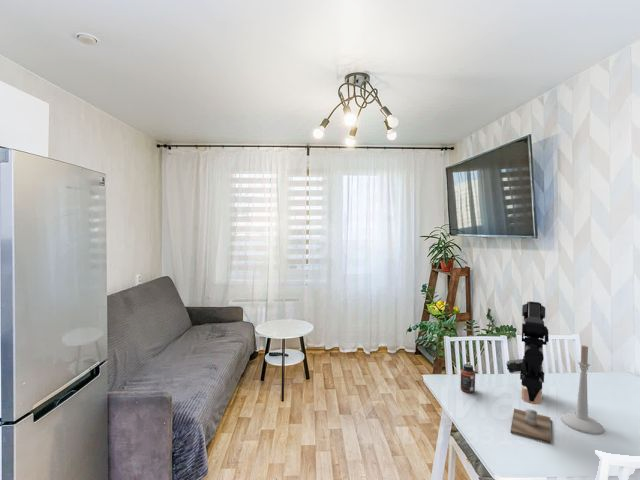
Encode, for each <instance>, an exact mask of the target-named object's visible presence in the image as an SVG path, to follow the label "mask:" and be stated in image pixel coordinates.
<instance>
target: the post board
mask: <svg viewBox="0 0 640 480" xmlns="http://www.w3.org/2000/svg"><path fill="white" fill-rule="evenodd" d="M510 434H514V435H518V436H522V437H524V438H529V439H531V438H532V440H536V441H538V440H539V442H543V443H546V444H549V443H551V442H552V440H551V439H552V438H551V437H552V436H551V435H552V434H551V417H550V416H547V415H543V414H538V413H537V411H536V410H535V409H532V408H526V409H525V410H522V409H518V408H513V414H512V419H511V425H510ZM551 444H552V443H551Z"/></svg>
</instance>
